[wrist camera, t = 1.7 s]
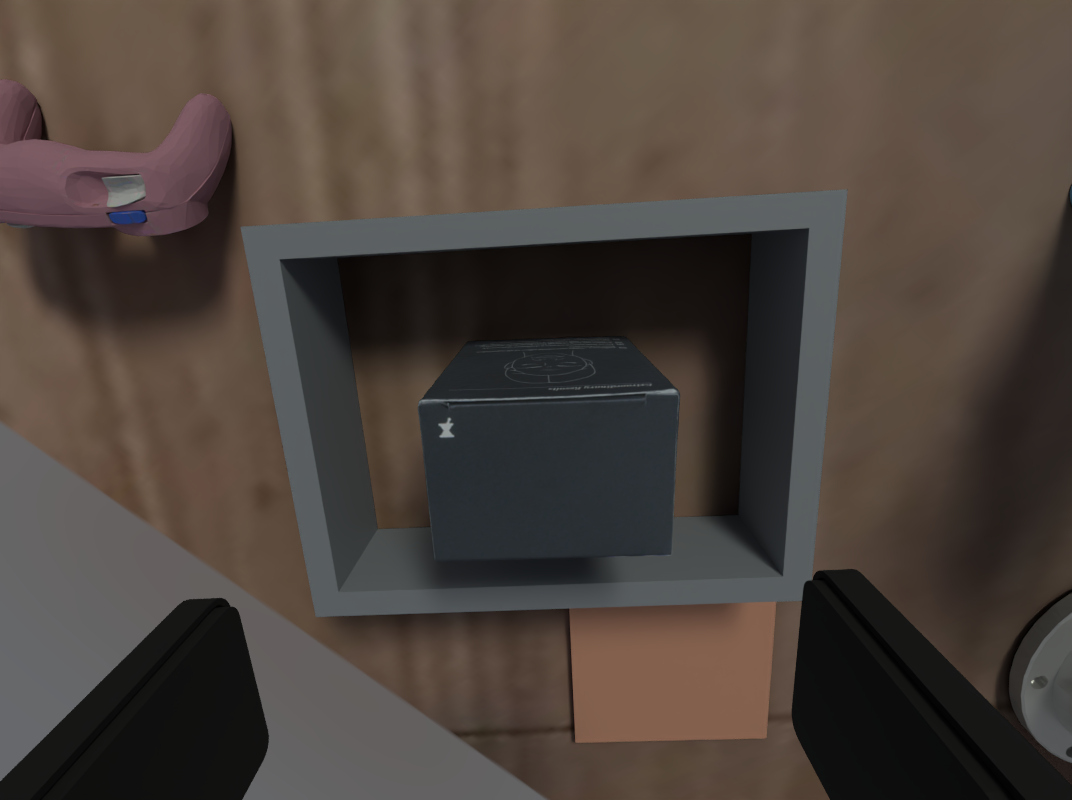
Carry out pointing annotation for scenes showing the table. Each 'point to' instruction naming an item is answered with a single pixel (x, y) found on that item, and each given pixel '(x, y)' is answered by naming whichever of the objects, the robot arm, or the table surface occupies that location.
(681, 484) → the table surface
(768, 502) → the enclosure
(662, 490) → the box
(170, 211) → the video game controller
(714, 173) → the table surface
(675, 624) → the mat
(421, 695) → the table surface
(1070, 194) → the vase
